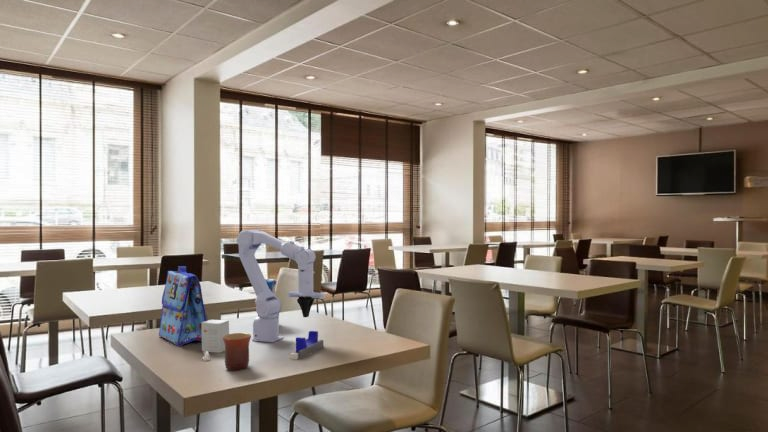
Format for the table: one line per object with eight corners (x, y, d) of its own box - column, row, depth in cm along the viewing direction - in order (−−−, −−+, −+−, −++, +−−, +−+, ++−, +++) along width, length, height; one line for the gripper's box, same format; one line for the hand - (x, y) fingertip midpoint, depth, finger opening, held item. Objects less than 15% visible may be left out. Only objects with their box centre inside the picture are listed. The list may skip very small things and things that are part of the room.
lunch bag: (157, 336, 209) (157, 265, 209) (191, 331, 218) (191, 263, 218) (176, 347, 192) (176, 269, 192) (212, 341, 201) (211, 266, 201)
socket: (290, 358, 175) (290, 351, 175) (316, 345, 193) (316, 338, 193) (299, 359, 174) (299, 352, 174) (324, 346, 192) (324, 339, 192)
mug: (248, 371, 161) (248, 338, 161) (219, 372, 160) (219, 339, 160) (255, 361, 173) (254, 330, 173) (228, 361, 172) (228, 331, 172)
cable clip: (306, 346, 192) (306, 330, 192) (317, 347, 191) (317, 331, 191) (291, 355, 181) (291, 337, 181) (303, 356, 179) (303, 338, 179)
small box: (229, 349, 188) (229, 320, 188) (220, 353, 183) (219, 323, 183) (211, 347, 191) (211, 319, 191) (201, 351, 186) (201, 322, 186)
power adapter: (211, 361, 175) (211, 351, 175) (203, 362, 173) (203, 353, 173) (206, 359, 177) (206, 350, 177) (199, 360, 175) (199, 351, 175)
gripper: (283, 281, 196) (283, 317, 196) (318, 283, 191) (318, 319, 191) (292, 279, 203) (293, 314, 203) (326, 280, 198) (326, 316, 198)
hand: (305, 316), depth 197 cm, fingers closed
